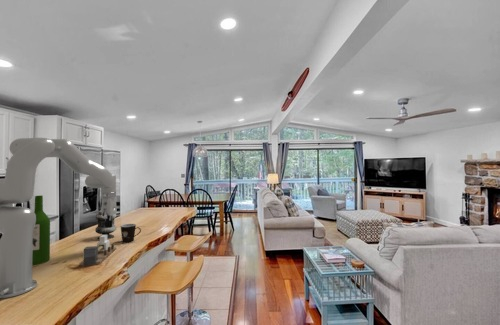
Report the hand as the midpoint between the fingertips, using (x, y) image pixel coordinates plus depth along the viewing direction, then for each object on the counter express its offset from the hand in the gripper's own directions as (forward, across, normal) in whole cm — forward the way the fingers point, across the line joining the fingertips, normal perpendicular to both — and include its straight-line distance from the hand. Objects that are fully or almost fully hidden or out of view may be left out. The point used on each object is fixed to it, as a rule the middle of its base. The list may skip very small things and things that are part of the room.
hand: (108, 227), depth 140 cm
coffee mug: (+13, +12, -8) cm, 19 cm away
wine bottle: (+12, -14, +27) cm, 33 cm away
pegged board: (+12, -12, 0) cm, 17 cm away
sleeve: (+10, -7, 0) cm, 13 cm away
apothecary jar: (+13, +24, +10) cm, 29 cm away
